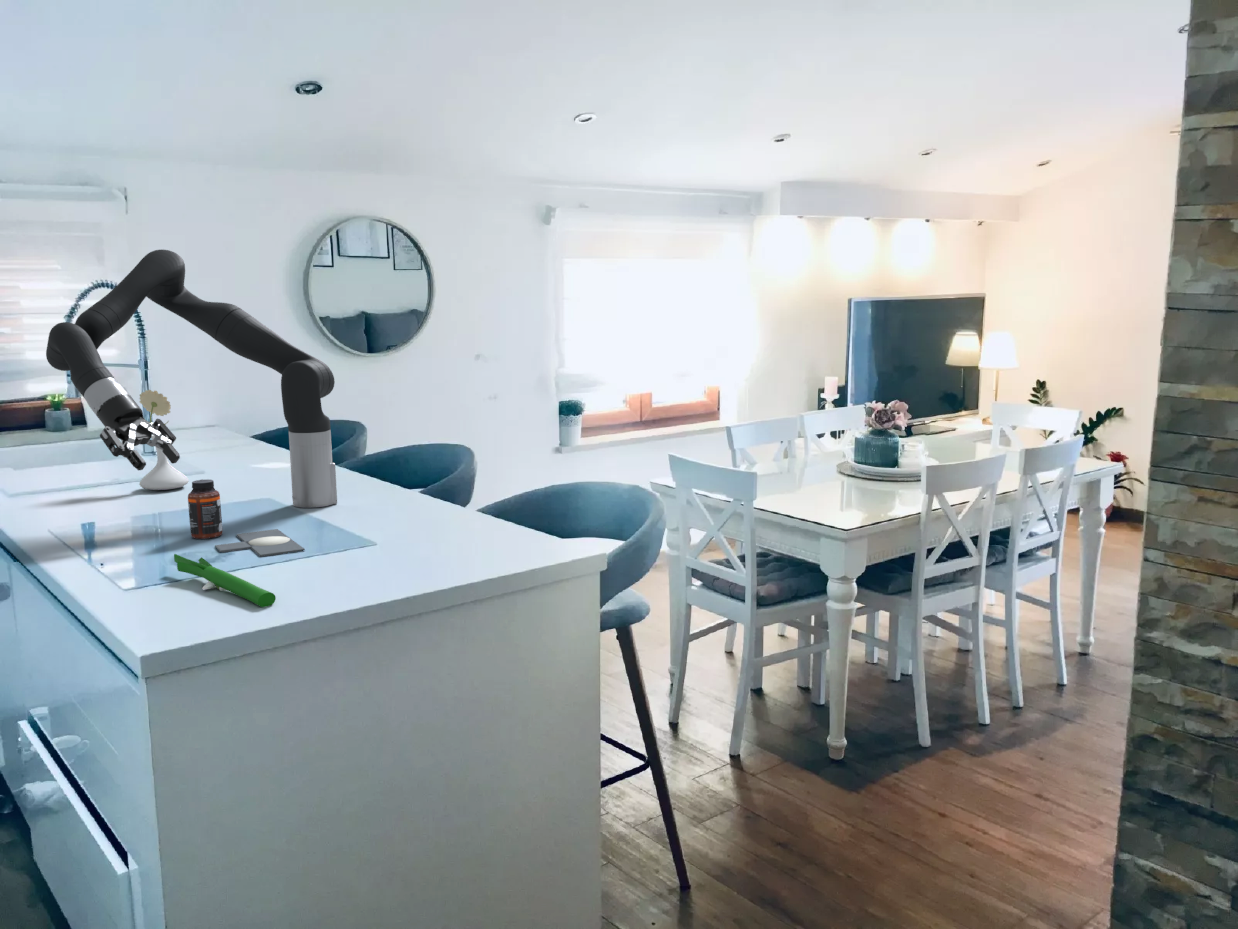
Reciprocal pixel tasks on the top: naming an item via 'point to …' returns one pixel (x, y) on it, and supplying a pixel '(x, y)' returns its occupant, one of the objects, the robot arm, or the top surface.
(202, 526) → the supplement bottle
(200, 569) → the green onion
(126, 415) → the robot arm
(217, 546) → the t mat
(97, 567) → the top surface
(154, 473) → the flower in vase
